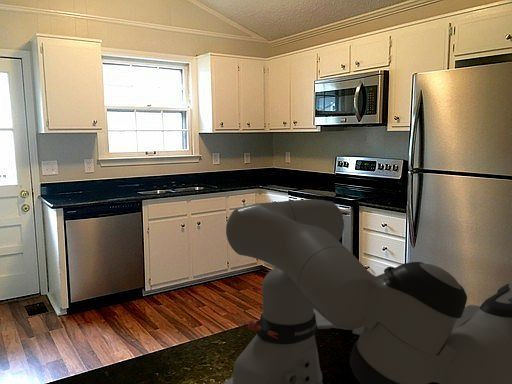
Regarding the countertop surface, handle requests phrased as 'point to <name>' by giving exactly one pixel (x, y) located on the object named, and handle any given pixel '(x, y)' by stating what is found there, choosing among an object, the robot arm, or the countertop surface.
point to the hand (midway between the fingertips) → (433, 316)
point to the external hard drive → (323, 321)
